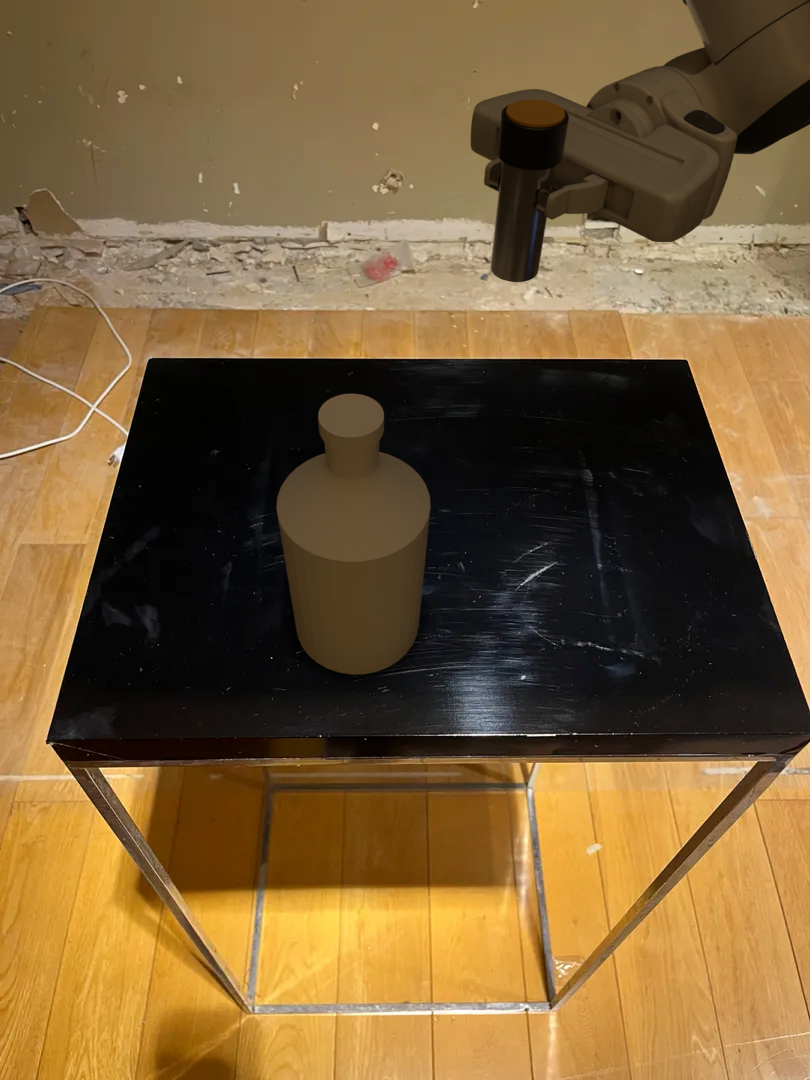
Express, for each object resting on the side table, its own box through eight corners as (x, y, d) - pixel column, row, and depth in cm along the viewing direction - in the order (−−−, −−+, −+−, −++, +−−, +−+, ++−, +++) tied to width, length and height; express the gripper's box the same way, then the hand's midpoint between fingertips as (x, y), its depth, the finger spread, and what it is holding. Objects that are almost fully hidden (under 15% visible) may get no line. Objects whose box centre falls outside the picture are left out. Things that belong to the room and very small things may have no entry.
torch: (547, 258, 66) (573, 101, 57) (539, 289, 64) (565, 129, 54) (491, 250, 67) (507, 93, 58) (480, 280, 64) (496, 121, 55)
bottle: (440, 656, 74) (462, 453, 55) (311, 693, 71) (288, 493, 52) (397, 558, 81) (403, 349, 62) (279, 588, 78) (247, 379, 59)
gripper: (543, 56, 69) (421, 100, 62) (758, 141, 59) (638, 203, 53) (532, 133, 73) (418, 181, 67) (729, 224, 64) (617, 290, 58)
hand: (517, 192), depth 60 cm, fingers closed on torch, 4 cm apart
